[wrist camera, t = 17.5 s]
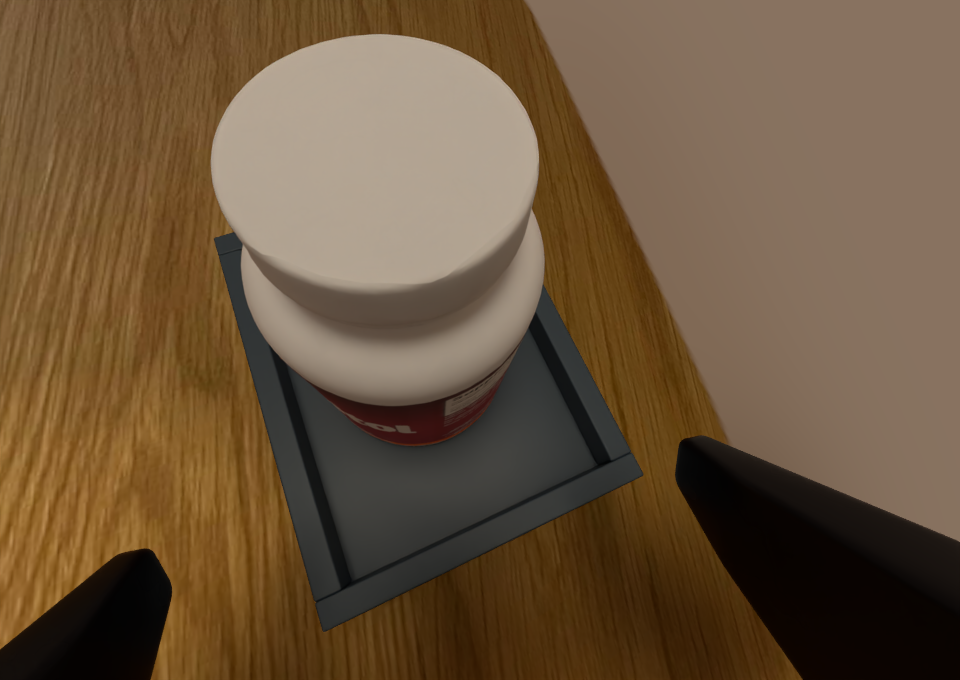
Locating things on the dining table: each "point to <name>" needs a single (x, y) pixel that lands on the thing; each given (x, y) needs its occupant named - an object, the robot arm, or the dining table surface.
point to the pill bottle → (386, 227)
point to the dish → (430, 466)
